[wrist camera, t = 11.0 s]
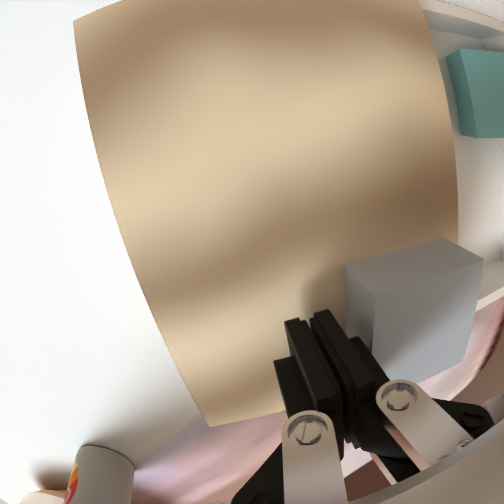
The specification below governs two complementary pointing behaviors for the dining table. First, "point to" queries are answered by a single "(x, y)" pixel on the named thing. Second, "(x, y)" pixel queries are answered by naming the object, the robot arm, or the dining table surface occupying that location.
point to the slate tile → (414, 307)
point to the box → (473, 145)
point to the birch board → (263, 167)
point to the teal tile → (478, 91)
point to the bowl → (45, 497)
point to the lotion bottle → (100, 477)
